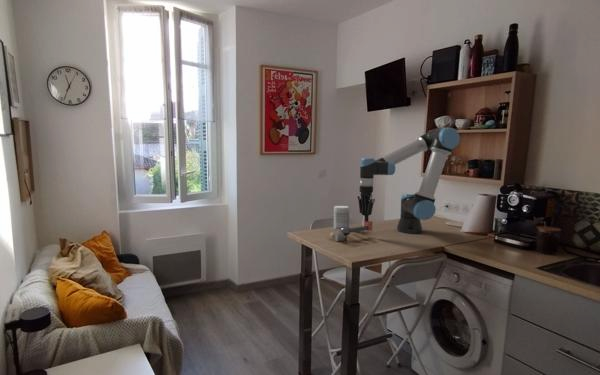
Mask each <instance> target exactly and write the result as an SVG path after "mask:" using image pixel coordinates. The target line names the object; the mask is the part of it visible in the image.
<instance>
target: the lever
mask: <svg viewBox="0 0 600 375" xmlns="http://www.w3.org/2000/svg"><path fill="white" fill-rule="evenodd" d="M339 230H340V232H339V231H337V232H338V233H335V241H342V240H347V235H350V234H352V233H356V232H357V233H358V232H362V231H363V232H365V231H367V232H370V231H373V221H371V220H368V221H365V226H354V227H349V228H347V227H342V228H341V229H339Z"/></svg>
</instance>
